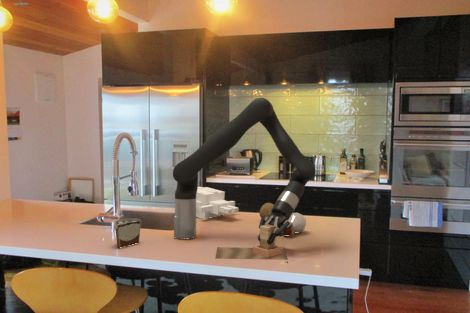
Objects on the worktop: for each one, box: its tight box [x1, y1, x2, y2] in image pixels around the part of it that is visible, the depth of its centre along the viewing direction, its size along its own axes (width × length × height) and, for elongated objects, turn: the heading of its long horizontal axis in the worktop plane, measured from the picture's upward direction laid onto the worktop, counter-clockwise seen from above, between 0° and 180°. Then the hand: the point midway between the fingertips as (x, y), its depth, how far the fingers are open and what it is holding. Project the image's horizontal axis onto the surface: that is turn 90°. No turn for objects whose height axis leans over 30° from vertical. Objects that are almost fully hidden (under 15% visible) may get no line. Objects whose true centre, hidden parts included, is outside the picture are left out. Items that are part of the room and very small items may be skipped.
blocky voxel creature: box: [196, 186, 240, 219], centre depth 228 cm, size 15×25×28 cm
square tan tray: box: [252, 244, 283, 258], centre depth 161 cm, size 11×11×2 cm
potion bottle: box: [281, 212, 307, 236], centre depth 195 cm, size 9×10×15 cm
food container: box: [113, 218, 143, 249], centre depth 175 cm, size 12×6×10 cm, turn 141°
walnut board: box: [215, 246, 289, 261], centre depth 161 cm, size 26×14×2 cm, turn 89°
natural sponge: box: [259, 202, 275, 218], centre depth 218 cm, size 9×9×10 cm
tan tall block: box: [259, 225, 276, 250], centre depth 160 cm, size 4×4×9 cm
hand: (264, 241), depth 159 cm, fingers closed on tan tall block, 4 cm apart
